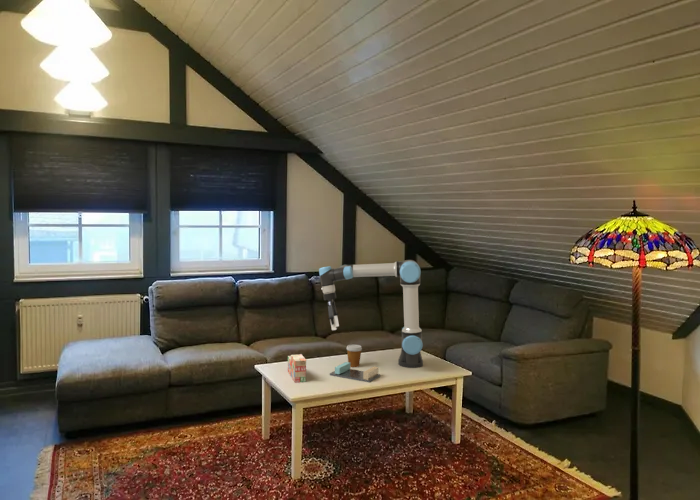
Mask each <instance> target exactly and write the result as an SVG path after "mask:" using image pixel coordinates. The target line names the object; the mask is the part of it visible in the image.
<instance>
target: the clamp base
mask: <svg viewBox="0 0 700 500" xmlns="http://www.w3.org/2000/svg"><path fill="white" fill-rule="evenodd" d="M329 376H333V377H337V378H343V379H349V380H355V381H359V382H363V383H364V382H366V383H372V382H373V381H374V380H376V379H378V378H380V377H381V374H380V373H379V367H378V366H372V367H370V368H368V369H366V370H364V371H362V370H359V369H352V368H350V369H349V370H347V371H345V372H343V373H341V374H335V370H334V371H332V372H330V373H329Z"/></svg>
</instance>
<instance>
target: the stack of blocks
mask: <svg viewBox="0 0 700 500" xmlns="http://www.w3.org/2000/svg"><path fill="white" fill-rule="evenodd" d="M287 373H288V374H289V376H290V377H291V379H292V381H293V383H306V382H307V381H306V379H307V377H306V375H307V359H306V358H305V356H303V354H302V353H300V354H290V355H287Z"/></svg>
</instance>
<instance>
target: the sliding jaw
mask: <svg viewBox="0 0 700 500" xmlns="http://www.w3.org/2000/svg"><path fill="white" fill-rule="evenodd" d="M349 369H351V367H350V363H349V362H348V361H345V362H343V363H341V364H339V365H336V366H335V367H334V371H335V374H341V373H343V372H345V371H347V370H349Z"/></svg>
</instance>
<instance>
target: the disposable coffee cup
mask: <svg viewBox="0 0 700 500" xmlns="http://www.w3.org/2000/svg"><path fill="white" fill-rule="evenodd" d="M362 350H363V348H362V345H361V344H348V345H347V346H346V352H347V362H349V363H350V368H359V366H360V362H361V355H362Z"/></svg>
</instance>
